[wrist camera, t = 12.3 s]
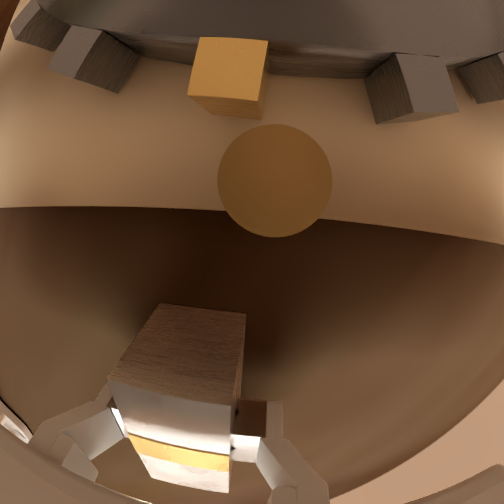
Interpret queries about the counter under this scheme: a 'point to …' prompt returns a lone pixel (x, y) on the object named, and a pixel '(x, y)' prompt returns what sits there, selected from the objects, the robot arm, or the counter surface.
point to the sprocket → (282, 47)
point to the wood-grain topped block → (183, 393)
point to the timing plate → (246, 151)
